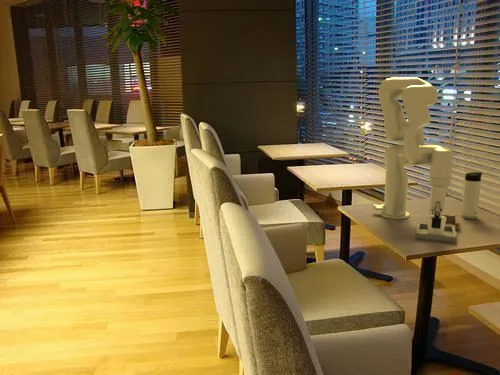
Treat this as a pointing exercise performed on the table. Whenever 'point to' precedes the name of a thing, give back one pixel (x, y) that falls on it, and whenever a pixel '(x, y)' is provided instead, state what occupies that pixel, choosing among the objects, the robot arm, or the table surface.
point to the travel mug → (471, 195)
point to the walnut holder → (452, 220)
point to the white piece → (435, 230)
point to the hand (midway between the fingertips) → (435, 224)
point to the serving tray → (447, 236)
